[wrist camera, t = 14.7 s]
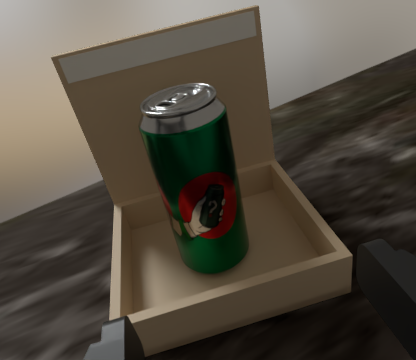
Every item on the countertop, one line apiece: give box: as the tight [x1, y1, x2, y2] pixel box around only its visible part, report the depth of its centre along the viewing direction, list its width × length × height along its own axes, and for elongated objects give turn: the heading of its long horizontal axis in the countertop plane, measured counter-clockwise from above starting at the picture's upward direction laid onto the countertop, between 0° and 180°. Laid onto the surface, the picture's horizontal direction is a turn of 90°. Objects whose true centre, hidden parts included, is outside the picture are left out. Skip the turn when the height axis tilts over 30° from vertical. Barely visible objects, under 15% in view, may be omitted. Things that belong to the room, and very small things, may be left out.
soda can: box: [138, 83, 249, 274], centre depth 22 cm, size 5×5×12 cm
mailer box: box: [51, 5, 353, 357], centre depth 22 cm, size 14×13×15 cm
